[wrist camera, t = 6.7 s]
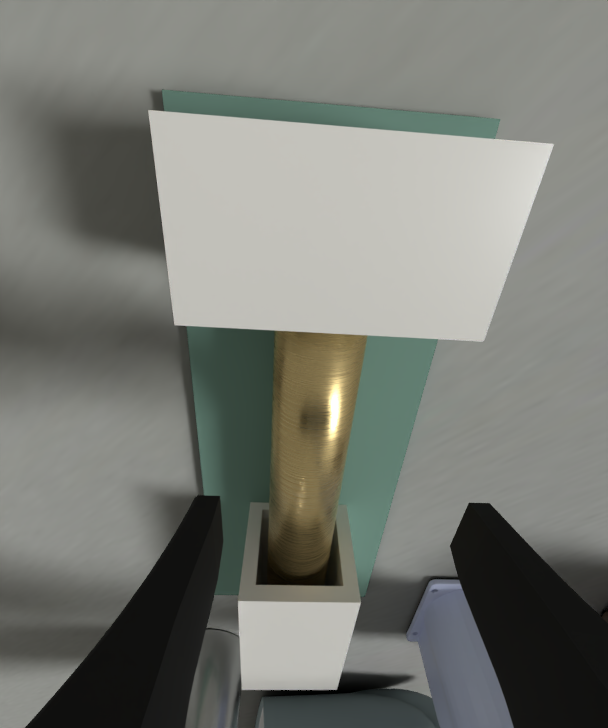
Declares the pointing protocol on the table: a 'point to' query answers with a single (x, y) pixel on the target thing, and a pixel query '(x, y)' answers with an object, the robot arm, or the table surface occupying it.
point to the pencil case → (349, 710)
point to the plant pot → (605, 616)
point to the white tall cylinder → (216, 683)
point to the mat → (255, 370)
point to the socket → (339, 225)
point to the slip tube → (309, 449)
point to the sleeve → (295, 615)
